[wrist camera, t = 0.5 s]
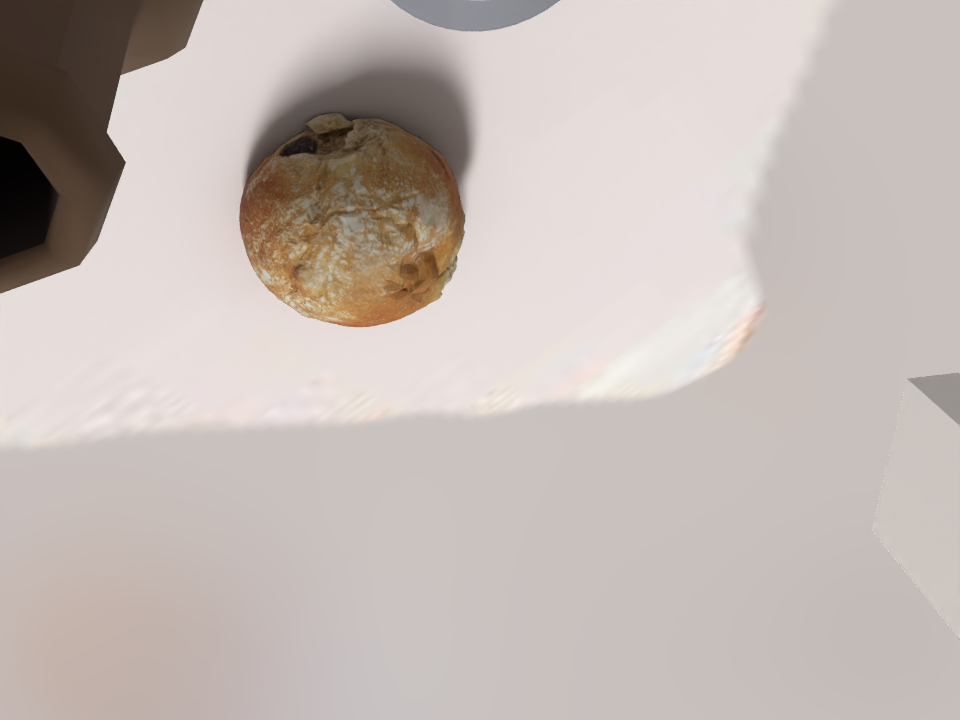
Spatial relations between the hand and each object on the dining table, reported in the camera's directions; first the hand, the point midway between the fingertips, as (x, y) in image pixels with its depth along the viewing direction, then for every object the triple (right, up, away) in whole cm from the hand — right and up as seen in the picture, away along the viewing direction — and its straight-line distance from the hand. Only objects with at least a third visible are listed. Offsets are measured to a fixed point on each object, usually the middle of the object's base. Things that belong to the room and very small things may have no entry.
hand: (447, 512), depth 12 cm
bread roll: (-6, +9, +29) cm, 31 cm away
